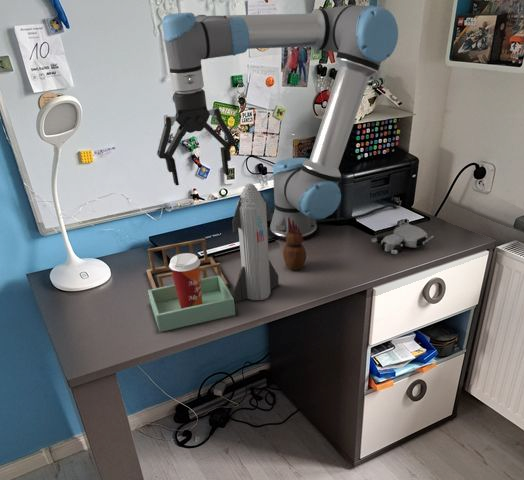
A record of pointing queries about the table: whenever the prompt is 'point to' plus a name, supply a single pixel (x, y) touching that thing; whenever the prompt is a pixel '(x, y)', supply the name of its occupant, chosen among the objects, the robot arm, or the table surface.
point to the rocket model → (253, 246)
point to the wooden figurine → (294, 248)
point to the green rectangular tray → (213, 306)
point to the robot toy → (402, 238)
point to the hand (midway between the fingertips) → (201, 178)
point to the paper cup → (187, 279)
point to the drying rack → (166, 267)
